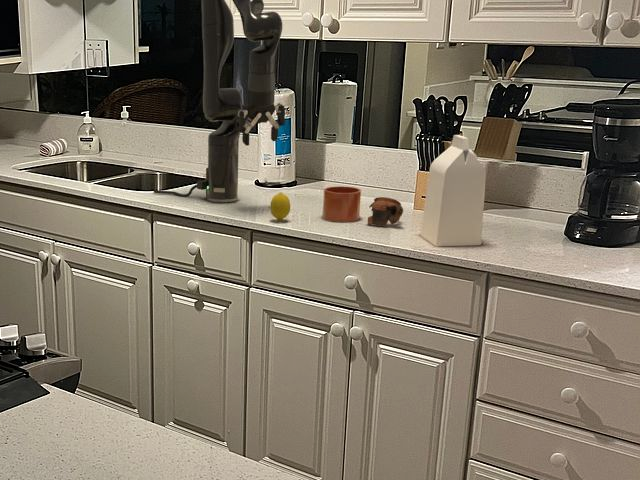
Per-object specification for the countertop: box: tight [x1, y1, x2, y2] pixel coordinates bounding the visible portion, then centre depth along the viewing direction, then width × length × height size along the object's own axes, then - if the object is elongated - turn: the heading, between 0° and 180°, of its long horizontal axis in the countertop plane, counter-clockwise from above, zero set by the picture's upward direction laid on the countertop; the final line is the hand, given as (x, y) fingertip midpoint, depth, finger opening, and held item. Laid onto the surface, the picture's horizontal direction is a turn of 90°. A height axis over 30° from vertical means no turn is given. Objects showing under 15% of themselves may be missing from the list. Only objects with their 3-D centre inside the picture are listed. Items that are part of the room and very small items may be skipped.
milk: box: [419, 134, 487, 247], centre depth 235 cm, size 12×12×26 cm
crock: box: [321, 185, 362, 223], centre depth 263 cm, size 10×10×8 cm
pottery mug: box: [367, 196, 404, 228], centre depth 256 cm, size 12×10×8 cm
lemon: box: [269, 192, 291, 222], centre depth 260 cm, size 6×6×8 cm
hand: (260, 142), depth 271 cm, fingers open, 8 cm apart
